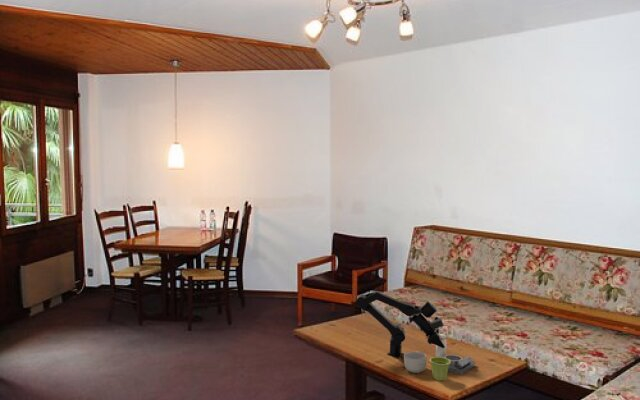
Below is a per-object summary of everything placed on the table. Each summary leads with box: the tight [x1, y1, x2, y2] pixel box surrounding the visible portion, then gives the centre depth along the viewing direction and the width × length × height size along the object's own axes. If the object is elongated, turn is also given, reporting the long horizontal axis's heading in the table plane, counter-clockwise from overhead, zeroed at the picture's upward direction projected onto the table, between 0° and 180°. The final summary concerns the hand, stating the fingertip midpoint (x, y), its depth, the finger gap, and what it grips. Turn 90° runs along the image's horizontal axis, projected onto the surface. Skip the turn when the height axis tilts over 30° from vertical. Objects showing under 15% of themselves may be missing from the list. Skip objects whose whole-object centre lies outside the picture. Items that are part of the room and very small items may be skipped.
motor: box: [444, 354, 476, 376], centre depth 270 cm, size 16×13×5 cm
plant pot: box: [429, 356, 451, 382], centre depth 254 cm, size 9×9×9 cm
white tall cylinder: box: [435, 333, 448, 358], centre depth 281 cm, size 5×5×12 cm
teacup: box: [403, 350, 427, 374], centre depth 265 cm, size 14×11×8 cm
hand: (443, 345), depth 281 cm, fingers open, 5 cm apart
